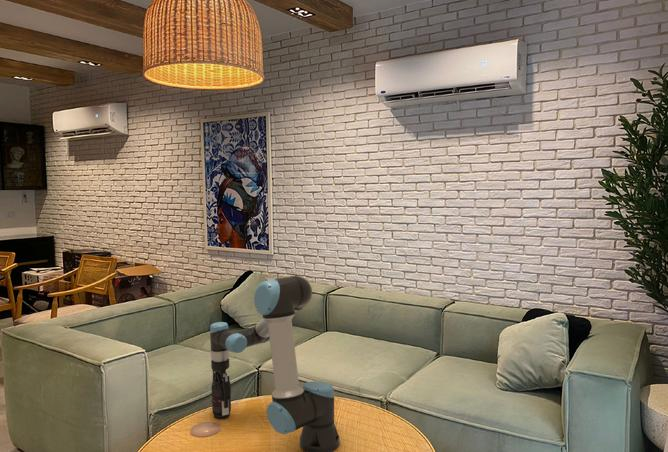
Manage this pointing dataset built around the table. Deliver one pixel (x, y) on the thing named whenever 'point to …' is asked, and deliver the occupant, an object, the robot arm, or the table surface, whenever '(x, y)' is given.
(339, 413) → the table surface
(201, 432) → the plate
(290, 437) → the table surface
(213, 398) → the camera lens
